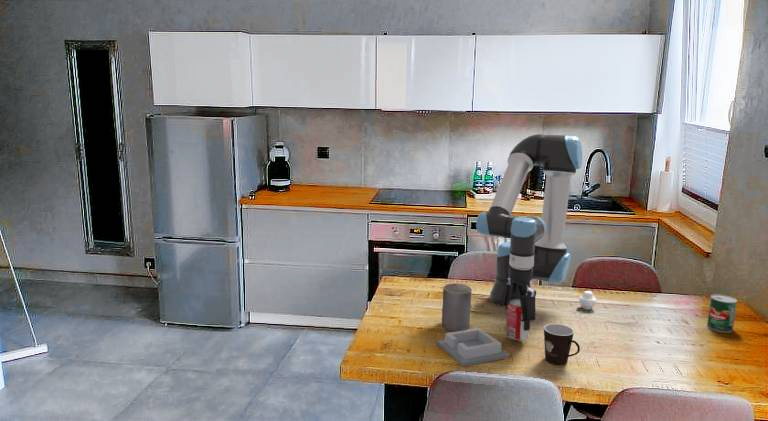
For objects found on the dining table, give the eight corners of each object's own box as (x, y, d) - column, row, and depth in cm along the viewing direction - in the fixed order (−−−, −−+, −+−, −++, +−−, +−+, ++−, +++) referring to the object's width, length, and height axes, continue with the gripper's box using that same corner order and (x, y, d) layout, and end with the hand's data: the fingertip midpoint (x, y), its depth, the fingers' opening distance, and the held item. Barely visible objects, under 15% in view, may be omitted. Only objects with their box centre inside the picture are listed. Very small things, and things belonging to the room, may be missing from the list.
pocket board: (480, 336, 185) (481, 325, 184) (508, 357, 171) (509, 344, 170) (437, 344, 179) (437, 332, 178) (463, 366, 165) (463, 353, 164)
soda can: (528, 334, 185) (531, 299, 182) (526, 343, 178) (529, 307, 175) (506, 330, 187) (509, 297, 184) (504, 339, 180) (506, 304, 178)
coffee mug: (537, 354, 173) (539, 324, 171) (564, 353, 174) (567, 323, 172) (551, 372, 162) (554, 340, 160) (580, 371, 163) (583, 339, 161)
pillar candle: (440, 319, 199) (442, 279, 196) (468, 320, 199) (470, 280, 195) (442, 331, 189) (444, 289, 186) (471, 332, 189) (473, 289, 186)
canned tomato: (731, 326, 198) (735, 296, 196) (734, 334, 191) (739, 303, 189) (705, 322, 201) (709, 292, 199) (707, 330, 194) (712, 299, 192)
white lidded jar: (597, 311, 209) (599, 293, 208) (581, 311, 209) (582, 293, 208) (592, 305, 215) (593, 288, 214) (576, 305, 215) (577, 287, 214)
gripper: (493, 258, 185) (489, 323, 190) (530, 277, 167) (526, 349, 172) (512, 256, 188) (508, 320, 193) (551, 274, 170) (546, 344, 175)
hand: (516, 333), depth 182 cm, fingers closed on soda can, 7 cm apart
